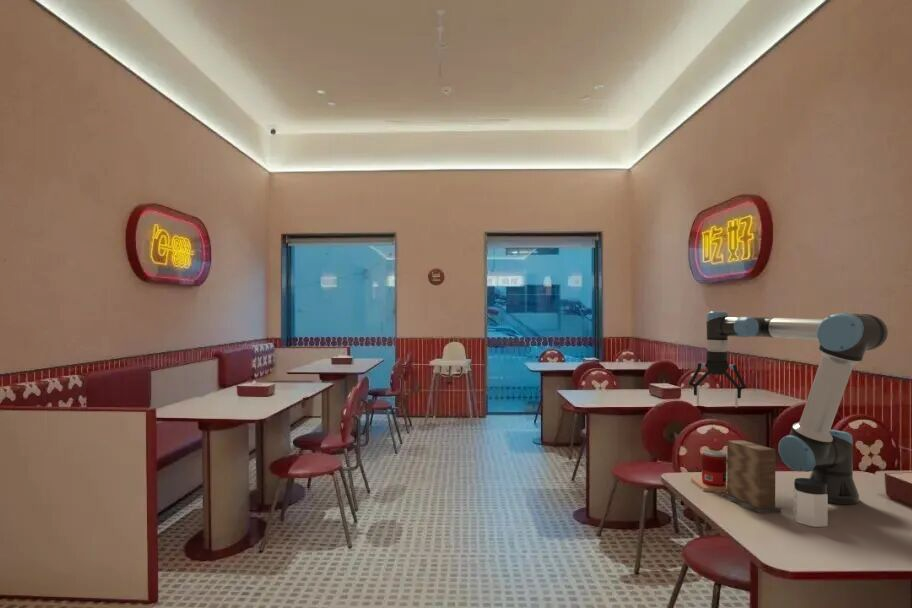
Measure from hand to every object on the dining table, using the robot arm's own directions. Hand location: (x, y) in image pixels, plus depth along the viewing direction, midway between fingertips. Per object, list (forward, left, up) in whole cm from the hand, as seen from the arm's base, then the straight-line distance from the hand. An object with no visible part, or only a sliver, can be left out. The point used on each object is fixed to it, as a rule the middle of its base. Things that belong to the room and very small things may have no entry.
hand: (716, 405), depth 218 cm
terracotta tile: (-7, +18, -27) cm, 33 cm away
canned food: (-7, +18, -26) cm, 32 cm away
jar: (-41, +31, -27) cm, 58 cm away
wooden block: (-23, +28, -27) cm, 45 cm away
